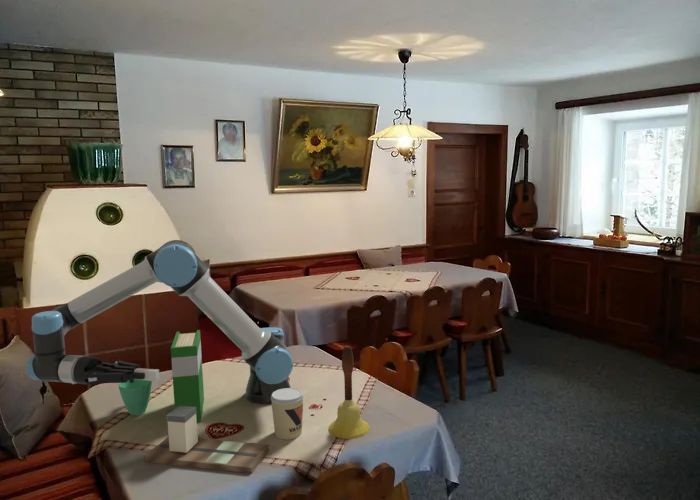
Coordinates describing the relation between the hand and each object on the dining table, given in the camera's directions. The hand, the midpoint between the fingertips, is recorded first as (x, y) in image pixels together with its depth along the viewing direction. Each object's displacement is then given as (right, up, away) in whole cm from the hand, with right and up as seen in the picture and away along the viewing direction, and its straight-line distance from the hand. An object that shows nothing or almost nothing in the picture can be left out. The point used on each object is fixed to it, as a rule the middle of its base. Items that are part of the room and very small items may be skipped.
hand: (157, 375), depth 145 cm
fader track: (+14, -22, 0) cm, 26 cm away
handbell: (+51, -19, +14) cm, 57 cm away
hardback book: (+1, -18, +28) cm, 33 cm away
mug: (-17, -18, +30) cm, 39 cm away
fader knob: (+7, -19, +1) cm, 21 cm away
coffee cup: (+34, -20, +12) cm, 41 cm away
